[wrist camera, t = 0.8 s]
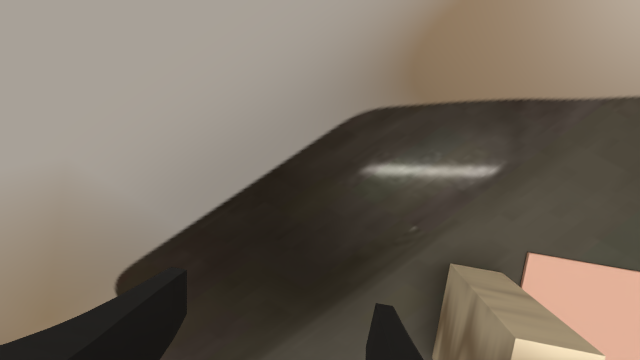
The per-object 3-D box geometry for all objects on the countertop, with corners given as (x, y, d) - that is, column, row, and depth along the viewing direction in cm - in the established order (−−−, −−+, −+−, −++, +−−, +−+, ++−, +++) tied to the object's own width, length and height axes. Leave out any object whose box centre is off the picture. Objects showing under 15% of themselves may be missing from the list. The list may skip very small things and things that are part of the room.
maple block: (482, 367, 27) (567, 511, 16) (432, 356, 27) (482, 490, 16) (502, 272, 26) (605, 356, 15) (450, 263, 27) (515, 338, 16)
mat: (656, 429, 26) (660, 432, 25) (496, 394, 27) (498, 397, 27) (695, 281, 25) (699, 282, 24) (527, 252, 26) (529, 253, 26)
